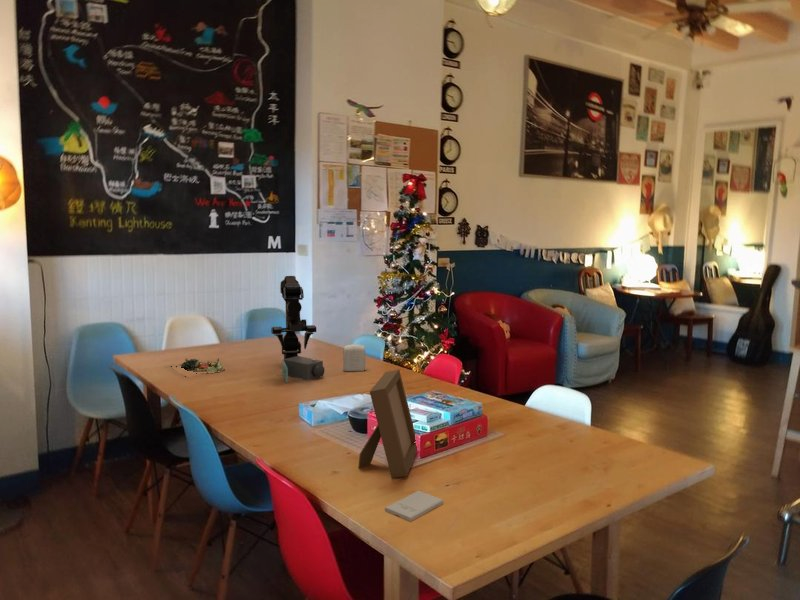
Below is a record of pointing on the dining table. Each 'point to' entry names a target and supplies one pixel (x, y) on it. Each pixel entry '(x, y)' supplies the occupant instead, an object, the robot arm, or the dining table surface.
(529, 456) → the dining table surface
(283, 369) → the grey-green bar
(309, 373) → the large grey box
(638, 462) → the dining table surface
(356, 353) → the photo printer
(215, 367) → the plated dish
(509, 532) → the dining table surface
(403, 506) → the external hard drive
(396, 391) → the photo frame
